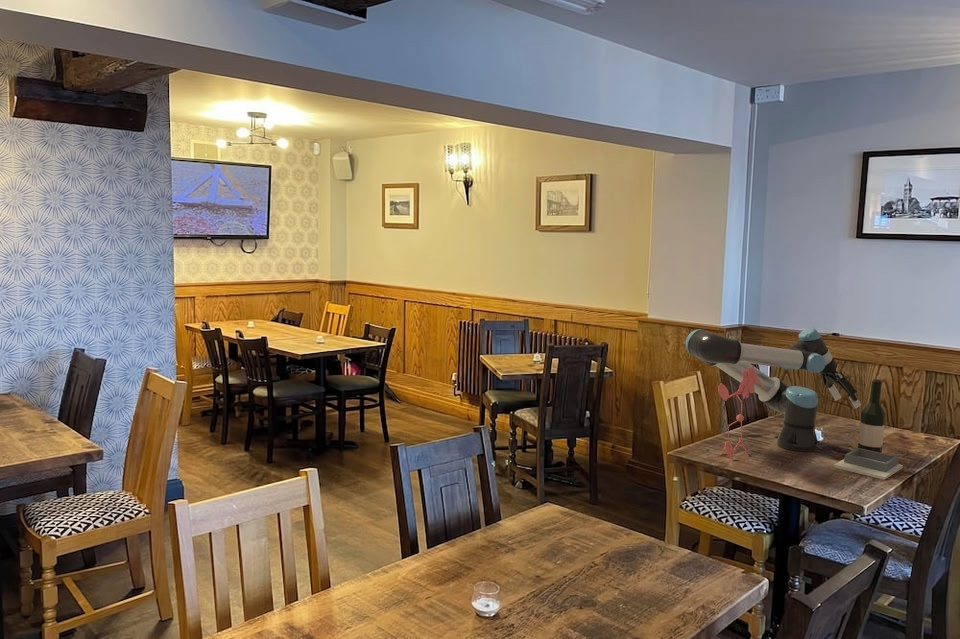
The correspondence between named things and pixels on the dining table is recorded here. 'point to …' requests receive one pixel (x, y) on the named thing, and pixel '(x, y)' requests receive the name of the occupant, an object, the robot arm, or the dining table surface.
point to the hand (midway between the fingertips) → (848, 402)
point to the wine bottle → (872, 421)
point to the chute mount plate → (870, 463)
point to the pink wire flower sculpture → (747, 388)
